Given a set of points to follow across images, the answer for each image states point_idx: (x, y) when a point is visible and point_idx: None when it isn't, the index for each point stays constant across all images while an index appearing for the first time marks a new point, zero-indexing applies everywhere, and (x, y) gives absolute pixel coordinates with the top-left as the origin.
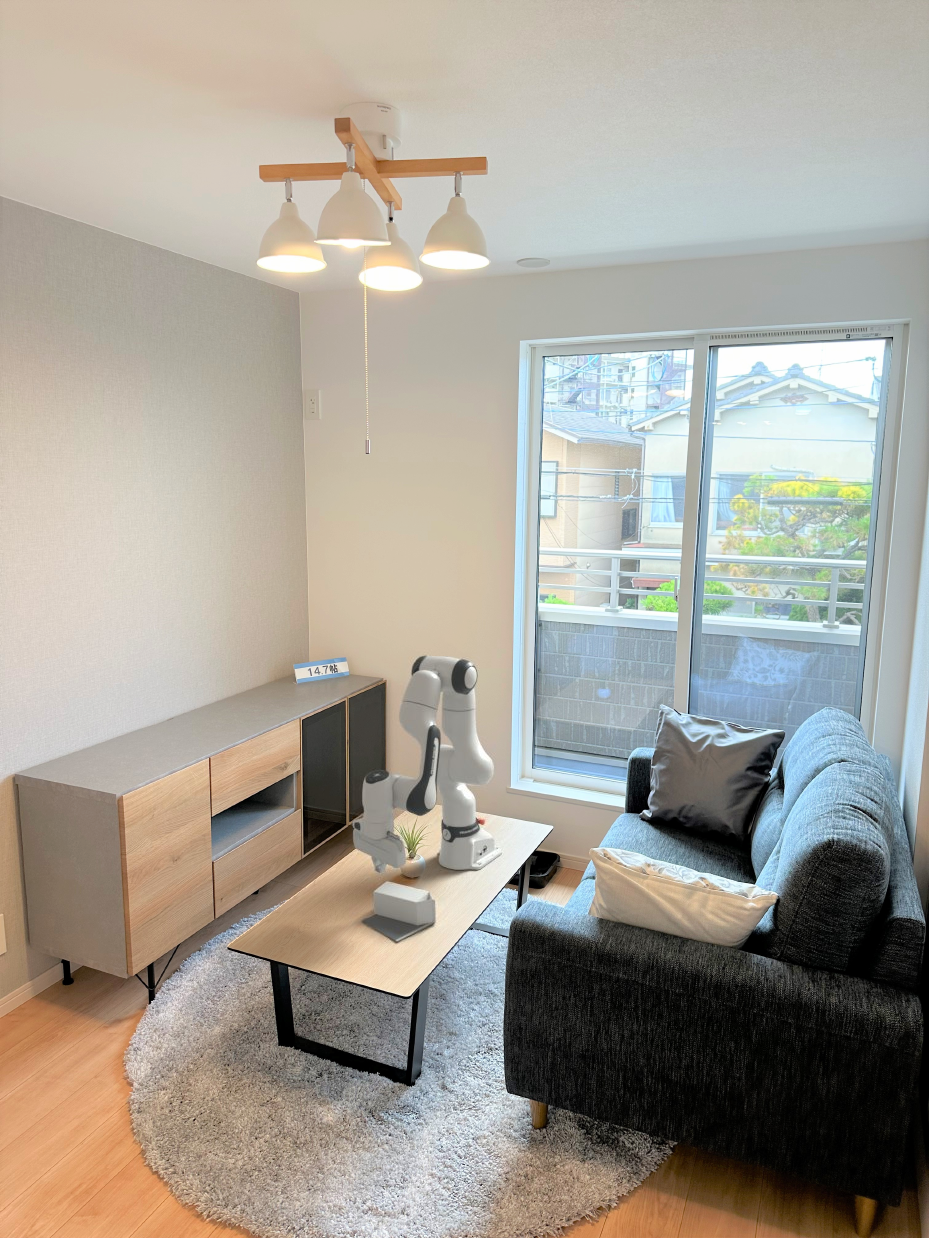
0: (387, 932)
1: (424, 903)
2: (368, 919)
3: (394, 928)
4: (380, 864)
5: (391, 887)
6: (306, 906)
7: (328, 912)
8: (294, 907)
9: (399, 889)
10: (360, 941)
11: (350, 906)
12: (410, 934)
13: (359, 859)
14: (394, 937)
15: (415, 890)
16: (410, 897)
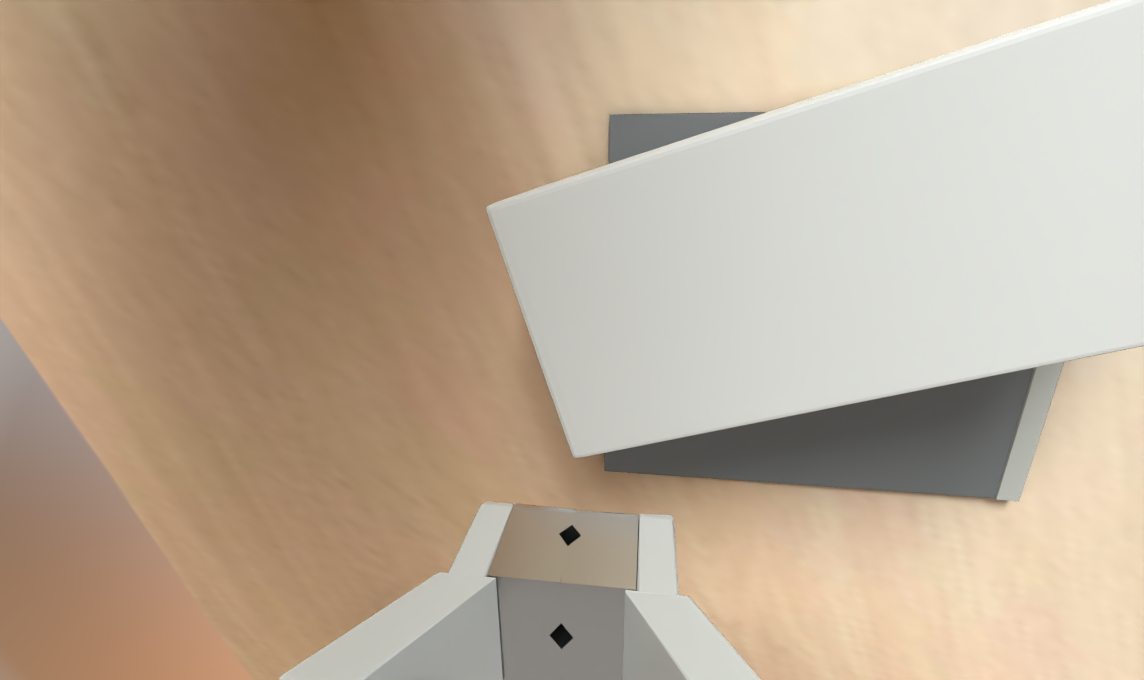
0: (868, 464)
1: None
2: None
3: (876, 402)
4: (505, 582)
5: (659, 278)
6: (236, 541)
7: (369, 512)
8: (212, 581)
9: (781, 245)
10: (780, 602)
11: (389, 389)
12: (1055, 387)
13: None
14: (960, 477)
15: (1006, 105)
16: (1069, 294)
